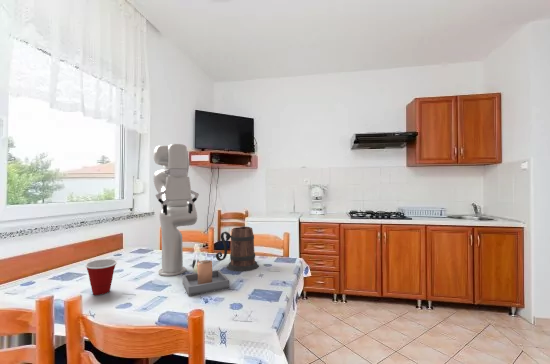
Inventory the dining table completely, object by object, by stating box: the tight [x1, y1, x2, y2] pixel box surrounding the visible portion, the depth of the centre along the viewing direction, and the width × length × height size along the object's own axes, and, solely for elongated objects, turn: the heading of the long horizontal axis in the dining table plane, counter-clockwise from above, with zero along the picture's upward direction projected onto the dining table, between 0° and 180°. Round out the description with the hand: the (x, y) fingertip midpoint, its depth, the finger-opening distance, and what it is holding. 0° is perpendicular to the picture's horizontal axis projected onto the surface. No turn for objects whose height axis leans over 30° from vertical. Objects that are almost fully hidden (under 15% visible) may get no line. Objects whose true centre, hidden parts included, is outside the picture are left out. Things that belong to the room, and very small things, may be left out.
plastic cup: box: [84, 258, 118, 296], centre depth 109 cm, size 11×11×12 cm
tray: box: [181, 269, 230, 297], centre depth 115 cm, size 16×16×4 cm
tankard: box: [215, 226, 260, 273], centre depth 143 cm, size 24×17×20 cm
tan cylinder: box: [196, 259, 213, 285], centre depth 115 cm, size 6×6×9 cm
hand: (178, 213), depth 116 cm, fingers open, 9 cm apart
